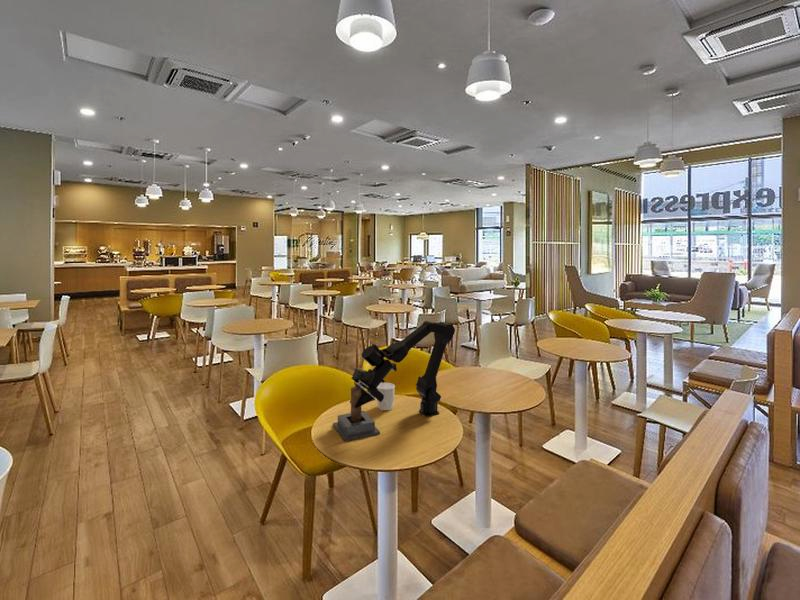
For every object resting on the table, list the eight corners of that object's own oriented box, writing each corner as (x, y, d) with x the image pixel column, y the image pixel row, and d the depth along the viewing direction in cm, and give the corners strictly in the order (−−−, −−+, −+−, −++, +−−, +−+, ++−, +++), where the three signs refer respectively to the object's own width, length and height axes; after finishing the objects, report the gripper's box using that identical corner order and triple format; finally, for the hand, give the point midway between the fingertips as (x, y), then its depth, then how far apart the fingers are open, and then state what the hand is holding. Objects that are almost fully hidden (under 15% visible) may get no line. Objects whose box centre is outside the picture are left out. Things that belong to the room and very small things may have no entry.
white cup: (386, 413, 174) (387, 390, 172) (372, 408, 179) (372, 386, 177) (398, 407, 180) (398, 385, 179) (384, 402, 185) (384, 381, 183)
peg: (361, 418, 160) (362, 386, 158) (360, 423, 156) (360, 390, 154) (351, 418, 160) (351, 386, 158) (350, 422, 156) (350, 390, 154)
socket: (365, 419, 168) (366, 408, 167) (379, 434, 155) (380, 422, 155) (332, 425, 162) (332, 414, 161) (344, 441, 149) (344, 430, 148)
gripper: (355, 354, 164) (329, 385, 160) (377, 368, 148) (348, 402, 145) (373, 370, 169) (348, 400, 166) (395, 385, 153) (368, 419, 150)
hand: (352, 405), depth 156 cm, fingers closed on peg, 4 cm apart
